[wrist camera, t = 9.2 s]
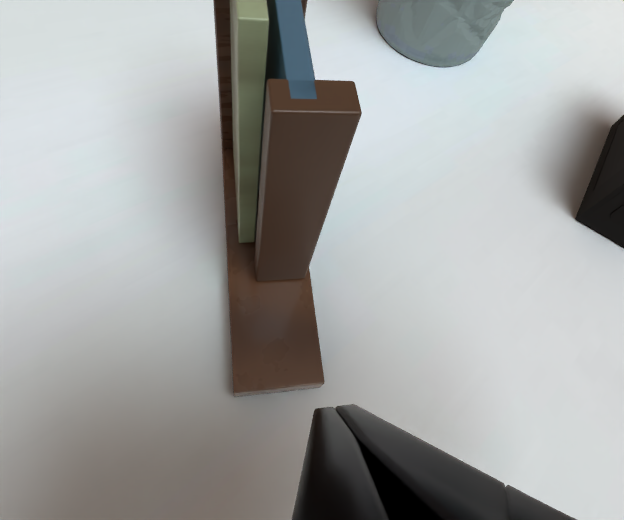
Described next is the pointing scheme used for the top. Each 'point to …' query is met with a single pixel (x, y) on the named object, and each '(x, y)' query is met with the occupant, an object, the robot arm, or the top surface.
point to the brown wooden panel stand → (243, 221)
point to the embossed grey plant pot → (438, 28)
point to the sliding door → (297, 147)
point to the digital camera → (607, 189)
